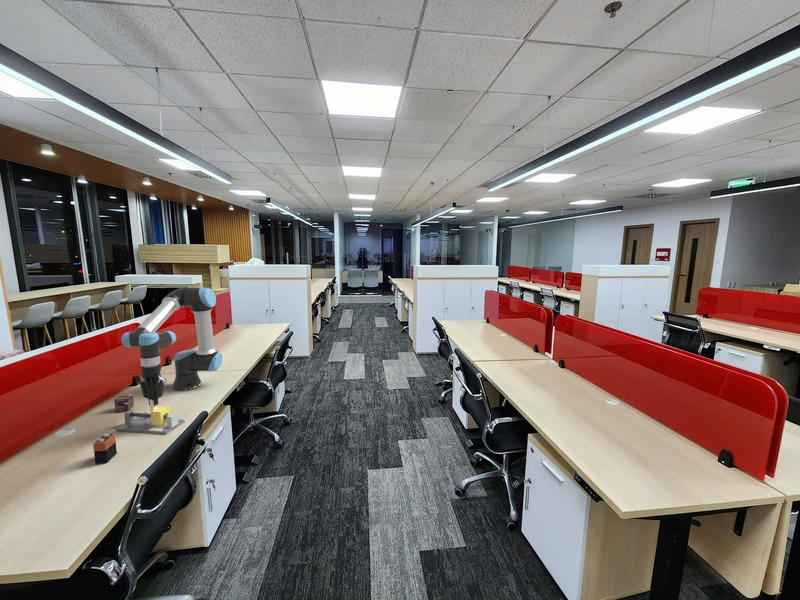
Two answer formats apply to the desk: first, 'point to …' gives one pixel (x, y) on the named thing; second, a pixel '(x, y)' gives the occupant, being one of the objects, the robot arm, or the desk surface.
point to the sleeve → (159, 415)
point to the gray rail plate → (148, 423)
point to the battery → (105, 448)
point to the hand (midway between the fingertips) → (154, 411)
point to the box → (124, 403)
